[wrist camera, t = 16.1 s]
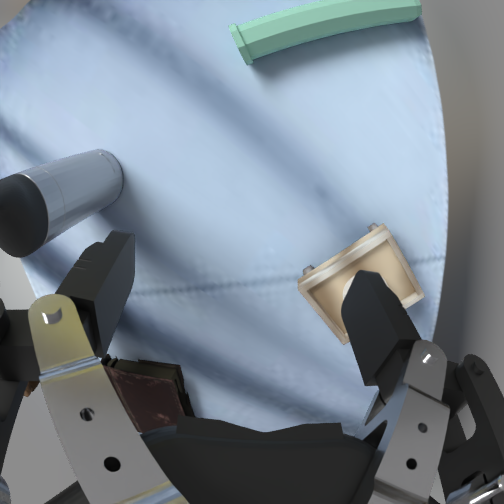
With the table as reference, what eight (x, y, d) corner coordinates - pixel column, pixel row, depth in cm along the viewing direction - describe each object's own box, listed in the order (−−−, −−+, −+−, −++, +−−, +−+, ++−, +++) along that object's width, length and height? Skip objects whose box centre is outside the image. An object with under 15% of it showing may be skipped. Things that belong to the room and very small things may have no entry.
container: (422, -16, 21) (227, 26, 27) (433, 25, 25) (247, 69, 31) (400, -16, 25) (229, 24, 31) (411, 21, 29) (246, 61, 35)
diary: (137, 417, 70) (131, 431, 66) (107, 350, 60) (96, 365, 56) (203, 430, 68) (198, 446, 63) (184, 363, 57) (176, 381, 53)
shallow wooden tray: (339, 322, 48) (343, 345, 43) (297, 269, 45) (297, 289, 40) (413, 277, 43) (425, 296, 38) (377, 216, 40) (389, 230, 35)
